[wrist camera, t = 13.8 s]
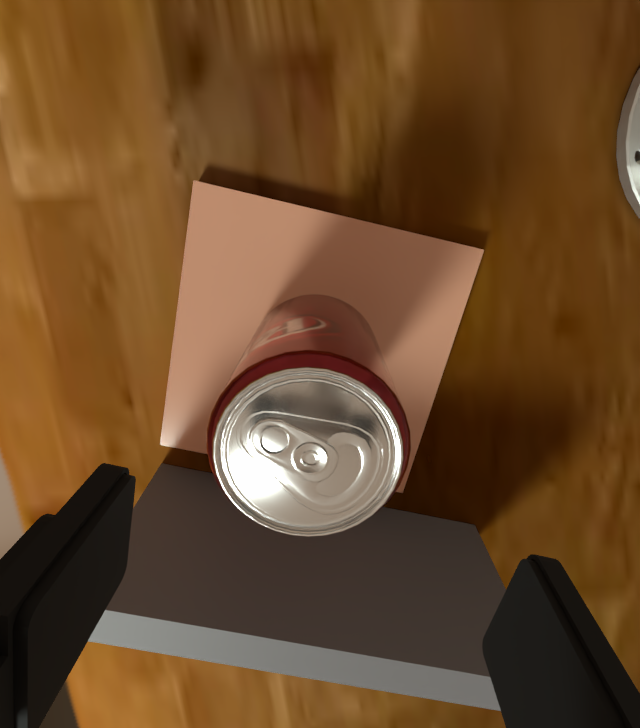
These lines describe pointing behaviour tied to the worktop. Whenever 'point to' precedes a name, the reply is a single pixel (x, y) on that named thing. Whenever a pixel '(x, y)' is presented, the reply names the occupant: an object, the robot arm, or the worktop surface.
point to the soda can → (309, 422)
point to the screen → (307, 594)
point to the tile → (305, 277)
